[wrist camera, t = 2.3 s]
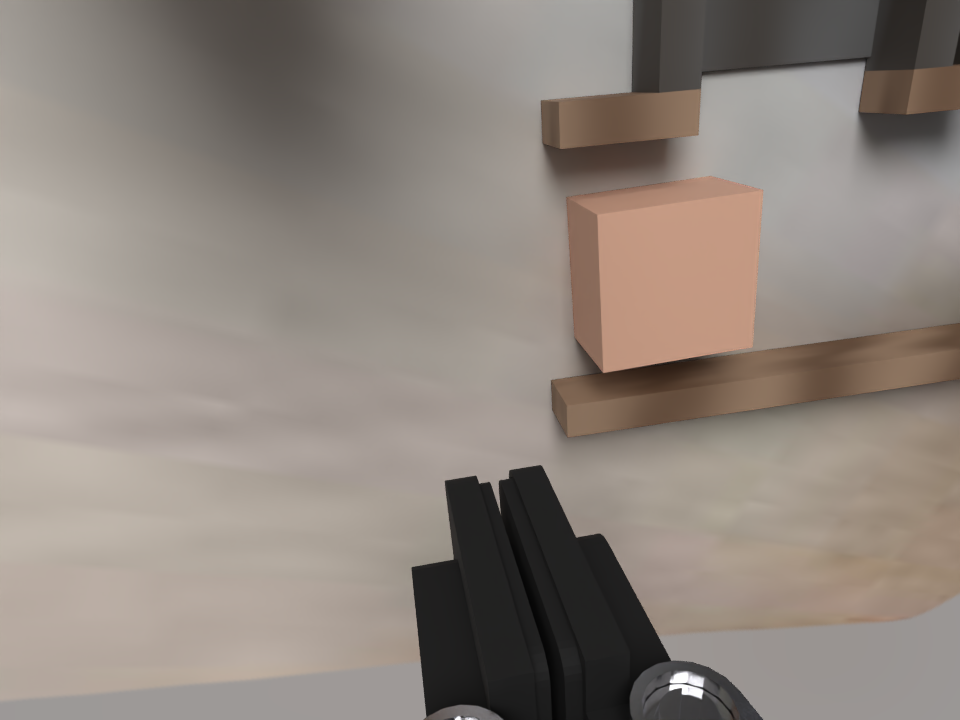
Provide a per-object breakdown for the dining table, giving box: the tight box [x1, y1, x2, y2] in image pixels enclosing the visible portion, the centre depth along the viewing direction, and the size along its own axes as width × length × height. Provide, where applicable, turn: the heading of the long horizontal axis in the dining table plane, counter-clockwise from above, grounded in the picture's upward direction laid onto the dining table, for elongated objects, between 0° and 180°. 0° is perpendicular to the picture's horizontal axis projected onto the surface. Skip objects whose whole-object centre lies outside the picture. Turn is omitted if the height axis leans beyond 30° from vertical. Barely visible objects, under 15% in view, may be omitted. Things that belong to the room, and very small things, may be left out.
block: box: [566, 176, 763, 373], centre depth 25 cm, size 6×6×4 cm
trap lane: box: [541, 0, 960, 437], centre depth 25 cm, size 32×22×3 cm
